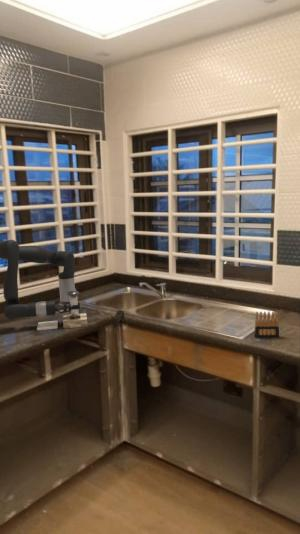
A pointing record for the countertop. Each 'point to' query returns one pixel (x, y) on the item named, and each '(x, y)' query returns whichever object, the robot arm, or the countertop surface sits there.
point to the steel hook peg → (74, 303)
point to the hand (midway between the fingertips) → (79, 305)
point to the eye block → (75, 321)
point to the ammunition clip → (266, 326)
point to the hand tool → (117, 318)
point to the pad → (47, 325)
